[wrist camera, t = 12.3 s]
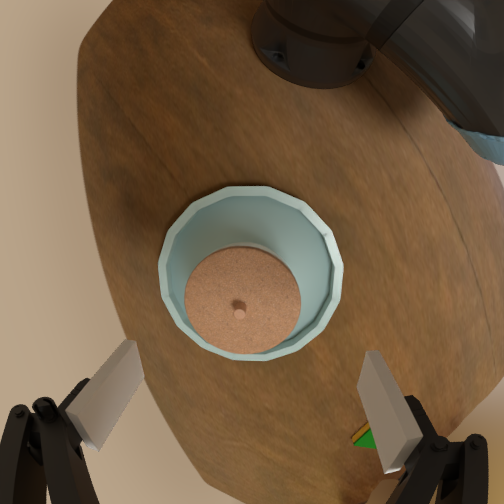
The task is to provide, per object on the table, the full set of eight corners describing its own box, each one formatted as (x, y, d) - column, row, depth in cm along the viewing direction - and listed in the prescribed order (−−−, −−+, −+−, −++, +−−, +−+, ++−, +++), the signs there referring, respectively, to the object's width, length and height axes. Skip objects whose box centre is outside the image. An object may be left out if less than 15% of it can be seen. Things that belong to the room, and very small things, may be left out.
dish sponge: (397, 443, 40) (400, 451, 38) (350, 436, 40) (352, 445, 37) (420, 422, 39) (424, 429, 36) (374, 413, 38) (378, 422, 36)
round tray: (161, 189, 31) (153, 189, 29) (341, 188, 30) (347, 188, 27) (175, 344, 36) (170, 354, 33) (328, 349, 35) (331, 359, 32)
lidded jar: (259, 334, 33) (255, 382, 24) (186, 287, 33) (158, 323, 24) (312, 267, 31) (329, 300, 22) (235, 213, 30) (220, 225, 21)
